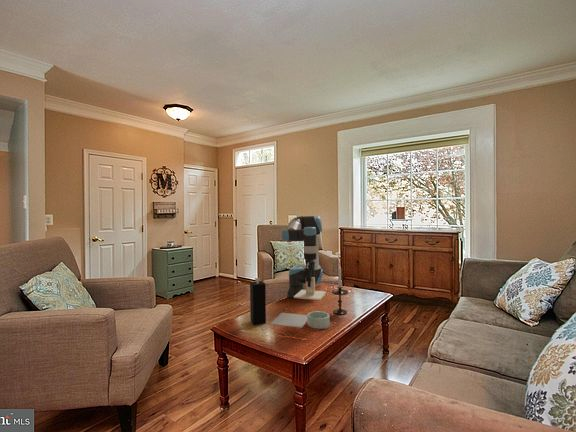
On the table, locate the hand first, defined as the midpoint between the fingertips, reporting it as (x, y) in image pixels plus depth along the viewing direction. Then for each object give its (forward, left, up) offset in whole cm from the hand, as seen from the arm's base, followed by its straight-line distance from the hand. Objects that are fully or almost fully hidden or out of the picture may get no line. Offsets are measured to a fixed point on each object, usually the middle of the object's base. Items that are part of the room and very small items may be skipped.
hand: (310, 291), depth 179 cm
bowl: (0, +5, -20) cm, 20 cm away
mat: (-2, -13, -20) cm, 24 cm away
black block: (+8, -31, -20) cm, 38 cm away
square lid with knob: (0, 0, -2) cm, 2 cm away
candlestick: (-25, +14, -20) cm, 35 cm away
